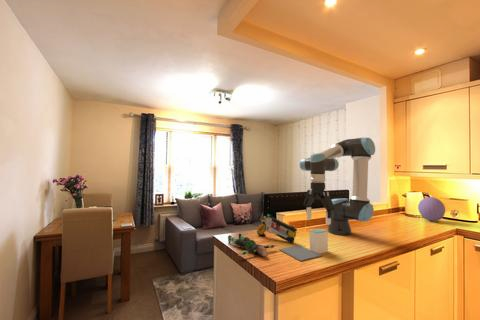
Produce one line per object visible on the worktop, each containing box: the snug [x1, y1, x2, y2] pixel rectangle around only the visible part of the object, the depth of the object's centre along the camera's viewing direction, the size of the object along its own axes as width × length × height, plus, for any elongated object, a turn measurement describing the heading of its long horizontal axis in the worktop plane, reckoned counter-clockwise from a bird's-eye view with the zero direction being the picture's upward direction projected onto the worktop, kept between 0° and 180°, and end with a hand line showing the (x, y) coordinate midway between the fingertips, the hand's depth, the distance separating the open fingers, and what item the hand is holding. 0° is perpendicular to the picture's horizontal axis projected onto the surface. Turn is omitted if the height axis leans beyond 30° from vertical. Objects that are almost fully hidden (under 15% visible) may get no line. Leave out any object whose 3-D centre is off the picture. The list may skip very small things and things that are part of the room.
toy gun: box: [256, 214, 298, 244], centre depth 143 cm, size 4×26×15 cm, turn 49°
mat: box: [278, 244, 323, 262], centre depth 119 cm, size 14×17×1 cm
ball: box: [417, 196, 446, 222], centre depth 188 cm, size 17×17×20 cm
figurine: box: [227, 232, 277, 257], centre depth 125 cm, size 26×6×30 cm
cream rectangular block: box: [309, 228, 329, 255], centre depth 122 cm, size 8×5×11 cm, turn 117°
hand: (318, 221), depth 122 cm, fingers open, 13 cm apart
